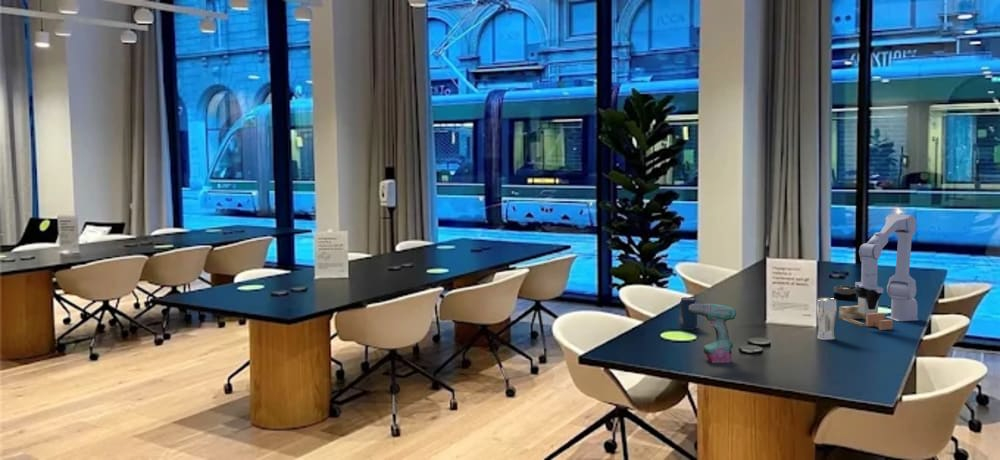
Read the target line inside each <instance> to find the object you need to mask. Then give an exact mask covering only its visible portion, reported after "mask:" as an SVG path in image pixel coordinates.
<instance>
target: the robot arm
mask: <svg viewBox="0 0 1000 460" xmlns="http://www.w3.org/2000/svg"><path fill="white" fill-rule="evenodd" d="M916 229H917V219H916V217H915V216H914V215H913V214H898V213H889V214H888V215H887V216H886V217H885V224H884V226H883V227H882V229H881V230H880V231H879V232H875V233H874V234H873V236H871V238H870V239H869V240H868V241H867V242H866V243H863V244H861V245H860V246H859V250H858V255H859V261H860V262H861V273H860V274H861V276H860V281H855V282H854V287H856V288H857V289H856V291H857V295H858V297H867V296H868V302H869V309H875V307H876V304H877V301H878V302H879V299H880V297H881V295H882V293H883V294H884V287H882V286H879V285H878V263H879V261H878V260H879V258H881V255H882V252H883V248H884V247H885V246H886V245H887V244H888V243H889V237H891V235H893V234H895V235H896V236H897V246H896V247H897V250H896V259H895V260H896V261H895V262H896V264H895V273H894V274H893V275H892V276H891V277H889V279H888V283H887V286H886V292H887V294H888V296H889V298H891V306H890V316H888V315H887V316H885V319H886V318H887V319H888V320H893V321H897V322H911V321H919V318H918V307H919V306H918V301H917V300H916V298H915V296H916V294H917V285H916V284H917V283H916V282H917V281H916V280H915V278H913V277H912V276H911V275H910V267H911V255H912V254H911V253H912V239H913V235H916Z"/></svg>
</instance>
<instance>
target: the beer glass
mask: <svg viewBox="0 0 1000 460" xmlns="http://www.w3.org/2000/svg"><path fill="white" fill-rule="evenodd" d="M837 308H838V306H837V299H834V297H833V298H831V297H819V298H817V302H816V317H817V318H816V319H817V323H818V324H817V327H818V332H817V336H816V337H817V339H818V340H821V341H833V340H835V333H834V332H835V331H834V328H835V323H836V319H837V312H838V311H837Z"/></svg>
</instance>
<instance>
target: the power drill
mask: <svg viewBox="0 0 1000 460" xmlns="http://www.w3.org/2000/svg"><path fill="white" fill-rule="evenodd" d="M689 311H690V312H692V313H694V314H697V316H698V315H699V316H703V317H705V318H706V320H707V321H709V322H710V327H711V328H714V330H715V331H714V332H715V338H716V339H715V341H713V342H711V343H709V344H708V343H707V344H706V345H704V346H703V353H704V354H705V356H706V357H707V359H708V361H709V362H711V363H713V364H714V363H715V364H721V363H722V364H725V363H731V362H732V353H733V351H732V348H733V346H734V344H733V341H730V335H729V330H728V327H727V324H726V322H727V321H731V320H736V319H735V318H736V316H737V311H736V308H734V307H732V306H728V305H724V304H717V303H704V304H702V303H697V304H691V305H689Z"/></svg>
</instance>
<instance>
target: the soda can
mask: <svg viewBox="0 0 1000 460" xmlns="http://www.w3.org/2000/svg"><path fill="white" fill-rule="evenodd" d="M691 304H698V302H697V299H696V297H690V296H686V297H685V296H684V297H681V298H680V301H679V327H680V328H681V329H683V330H694V329H696V328H697V327H698V314H694V313H692V312H690V311H689V305H691Z"/></svg>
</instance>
